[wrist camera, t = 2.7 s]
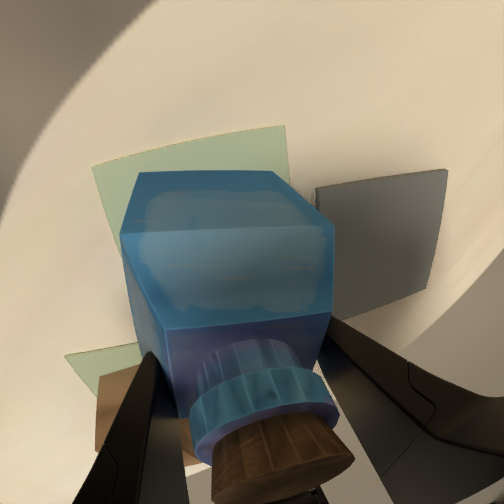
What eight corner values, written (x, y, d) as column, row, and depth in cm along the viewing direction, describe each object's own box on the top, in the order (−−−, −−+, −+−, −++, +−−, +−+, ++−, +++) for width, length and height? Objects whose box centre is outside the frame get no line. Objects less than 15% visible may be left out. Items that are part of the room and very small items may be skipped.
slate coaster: (422, 285, 22) (425, 288, 22) (315, 324, 21) (318, 328, 20) (444, 168, 17) (448, 170, 17) (316, 188, 15) (319, 190, 15)
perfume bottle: (272, 170, 14) (467, 364, 4) (259, 279, 17) (357, 481, 7) (139, 172, 13) (84, 451, 3) (148, 286, 16) (163, 523, 6)
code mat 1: (216, 402, 23) (216, 404, 23) (118, 419, 22) (118, 421, 21) (187, 331, 18) (187, 333, 18) (64, 355, 17) (64, 357, 17)
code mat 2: (294, 279, 18) (295, 281, 18) (146, 315, 17) (146, 317, 17) (283, 125, 13) (284, 125, 13) (92, 166, 12) (91, 167, 12)
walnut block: (190, 393, 21) (202, 462, 16) (136, 409, 21) (140, 474, 16) (158, 357, 19) (164, 438, 14) (99, 376, 18) (94, 450, 13)
